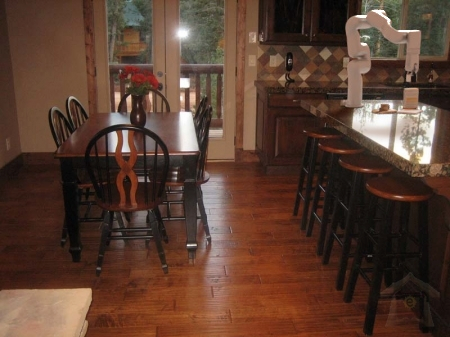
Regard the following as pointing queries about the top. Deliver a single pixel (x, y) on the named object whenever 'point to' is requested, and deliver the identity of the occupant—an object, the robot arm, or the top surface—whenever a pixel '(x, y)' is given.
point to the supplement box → (410, 98)
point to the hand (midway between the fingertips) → (411, 81)
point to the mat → (409, 111)
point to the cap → (408, 78)
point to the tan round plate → (384, 109)
